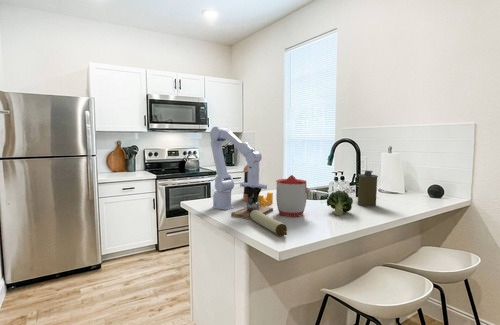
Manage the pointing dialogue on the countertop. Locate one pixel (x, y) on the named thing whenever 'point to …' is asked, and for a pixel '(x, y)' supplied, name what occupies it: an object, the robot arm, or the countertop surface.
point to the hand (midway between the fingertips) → (253, 201)
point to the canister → (367, 189)
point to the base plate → (245, 214)
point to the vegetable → (340, 202)
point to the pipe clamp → (266, 200)
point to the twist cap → (252, 204)
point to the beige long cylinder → (268, 222)
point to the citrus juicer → (291, 196)
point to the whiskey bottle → (246, 182)
